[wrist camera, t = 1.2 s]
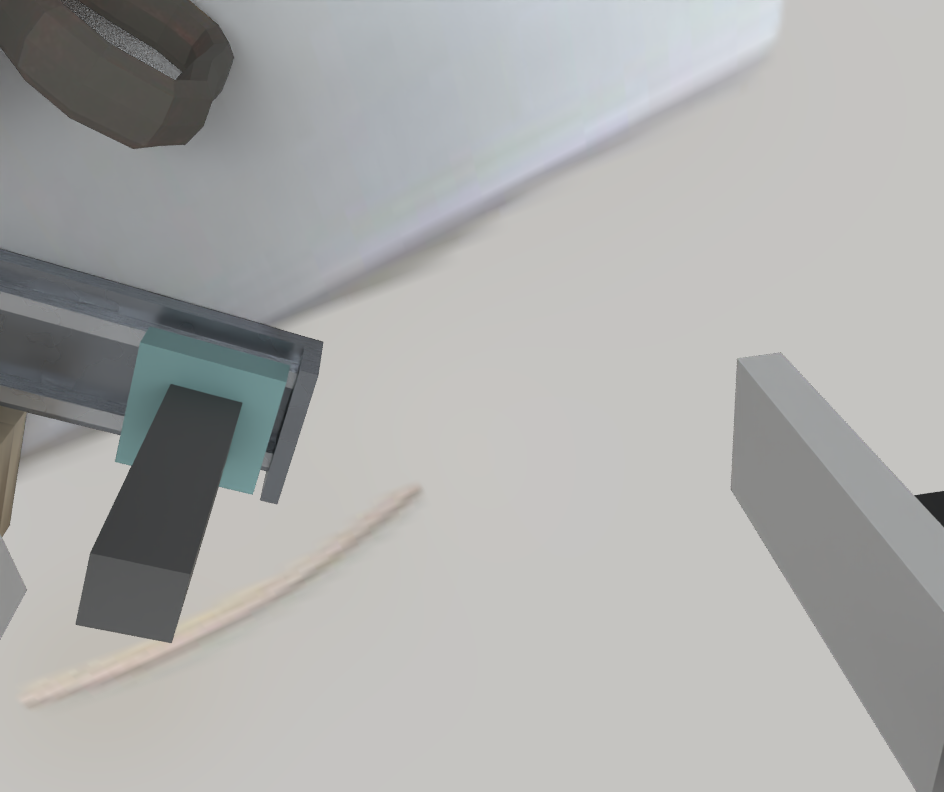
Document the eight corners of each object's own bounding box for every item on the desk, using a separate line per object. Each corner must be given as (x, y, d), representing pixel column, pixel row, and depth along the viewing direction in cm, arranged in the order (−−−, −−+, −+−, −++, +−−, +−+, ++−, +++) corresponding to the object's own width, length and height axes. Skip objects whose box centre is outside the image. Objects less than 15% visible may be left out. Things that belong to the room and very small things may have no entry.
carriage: (124, 442, 38) (19, 649, 27) (149, 326, 36) (44, 502, 25) (257, 474, 40) (208, 683, 29) (290, 365, 37) (250, 548, 26)
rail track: (-115, 364, 38) (-157, 401, 35) (-105, 218, 35) (-151, 245, 32) (284, 463, 42) (277, 504, 39) (323, 341, 39) (318, 375, 36)
